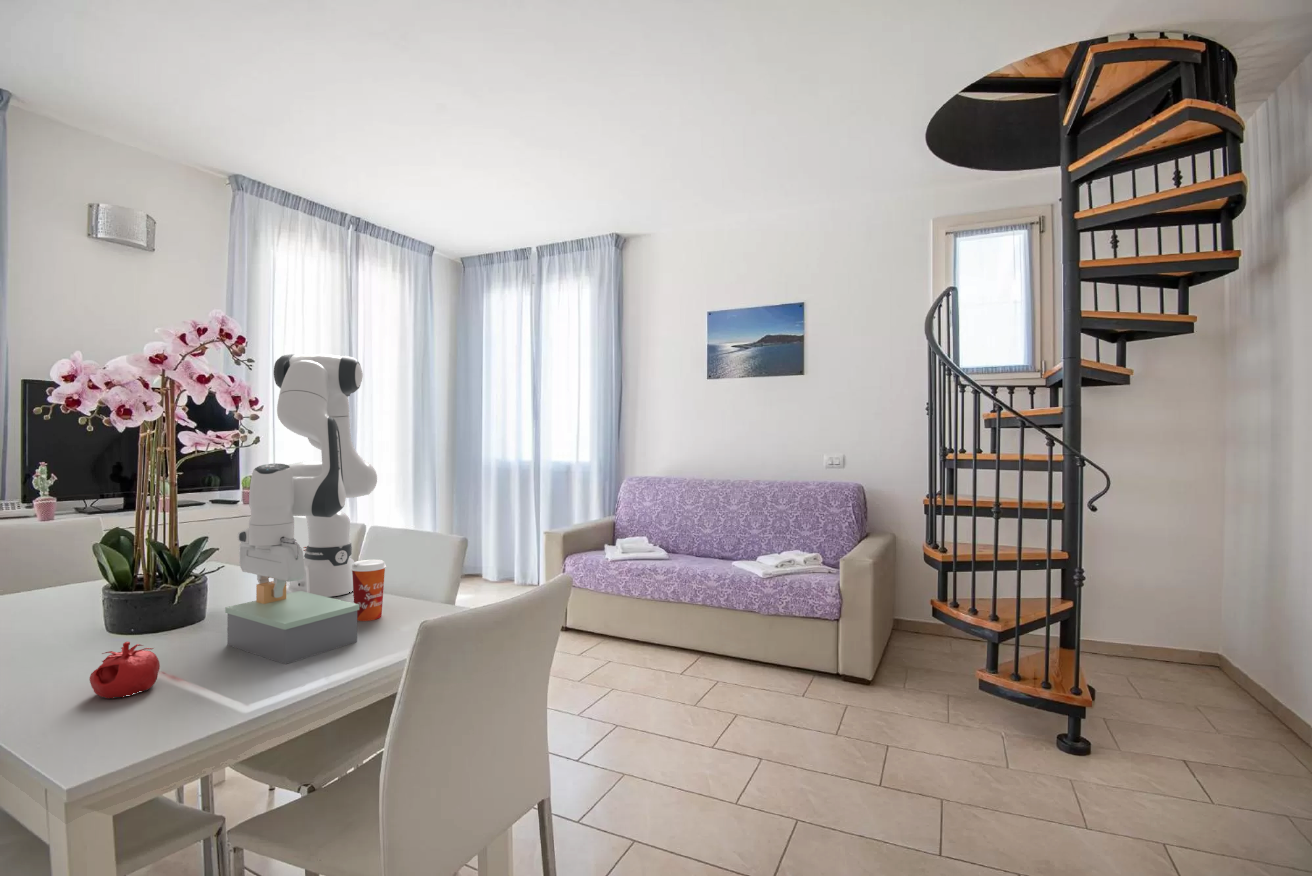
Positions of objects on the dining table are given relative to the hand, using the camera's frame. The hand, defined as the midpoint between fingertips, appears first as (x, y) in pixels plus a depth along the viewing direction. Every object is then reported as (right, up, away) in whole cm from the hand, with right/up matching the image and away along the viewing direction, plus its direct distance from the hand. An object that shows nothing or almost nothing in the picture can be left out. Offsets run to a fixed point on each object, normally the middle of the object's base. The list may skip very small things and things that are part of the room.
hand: (271, 595), depth 143 cm
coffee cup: (+15, -11, +16) cm, 24 cm away
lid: (+7, -2, -4) cm, 9 cm away
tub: (+7, -11, -4) cm, 13 cm away
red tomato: (-10, -11, -28) cm, 31 cm away
